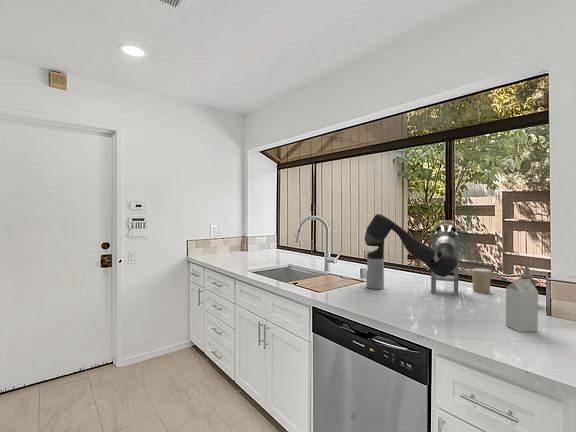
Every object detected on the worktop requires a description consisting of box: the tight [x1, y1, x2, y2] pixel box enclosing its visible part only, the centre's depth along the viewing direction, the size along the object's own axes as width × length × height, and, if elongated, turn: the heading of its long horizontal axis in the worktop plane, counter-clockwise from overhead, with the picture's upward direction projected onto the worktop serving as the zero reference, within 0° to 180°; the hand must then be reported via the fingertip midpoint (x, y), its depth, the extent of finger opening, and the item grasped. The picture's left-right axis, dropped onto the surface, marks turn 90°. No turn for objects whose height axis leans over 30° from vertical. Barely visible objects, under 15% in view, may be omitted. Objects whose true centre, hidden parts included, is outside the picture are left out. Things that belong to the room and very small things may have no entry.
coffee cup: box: [471, 267, 493, 294], centre depth 178 cm, size 9×9×12 cm
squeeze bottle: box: [518, 266, 537, 289], centre depth 154 cm, size 8×8×18 cm
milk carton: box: [505, 278, 539, 333], centre depth 124 cm, size 7×7×19 cm
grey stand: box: [429, 233, 461, 297], centre depth 176 cm, size 14×10×32 cm
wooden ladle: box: [438, 219, 455, 229], centre depth 168 cm, size 7×19×3 cm, turn 153°
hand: (446, 222), depth 165 cm, fingers closed on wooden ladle, 2 cm apart
